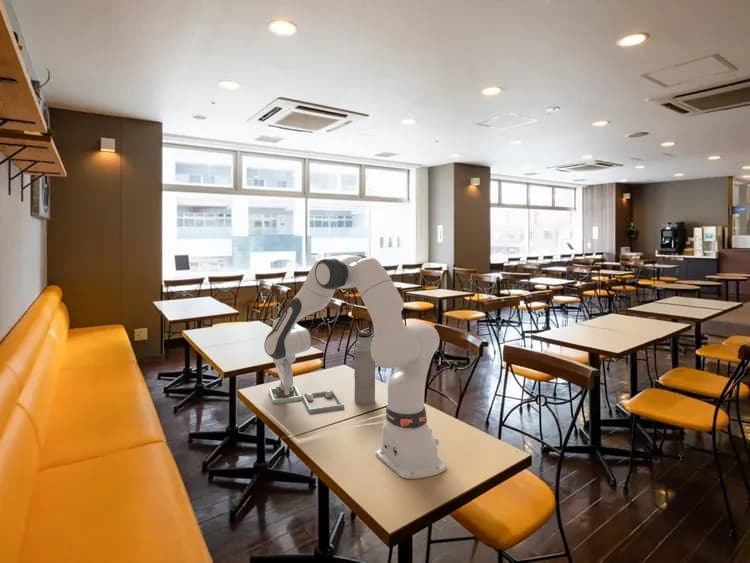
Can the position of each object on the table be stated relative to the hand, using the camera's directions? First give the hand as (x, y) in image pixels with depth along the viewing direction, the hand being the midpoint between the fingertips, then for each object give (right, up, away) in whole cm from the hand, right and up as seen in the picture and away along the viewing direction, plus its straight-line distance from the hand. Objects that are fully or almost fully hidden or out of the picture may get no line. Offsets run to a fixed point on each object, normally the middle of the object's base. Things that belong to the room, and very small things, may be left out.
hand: (284, 390), depth 177 cm
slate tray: (+16, -4, -6) cm, 17 cm away
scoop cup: (0, -3, 0) cm, 3 cm away
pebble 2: (+18, -3, -1) cm, 18 cm away
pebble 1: (+10, -3, -4) cm, 12 cm away
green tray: (0, -3, 0) cm, 3 cm away
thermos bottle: (+32, -4, -5) cm, 33 cm away
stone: (0, -2, 0) cm, 2 cm away
